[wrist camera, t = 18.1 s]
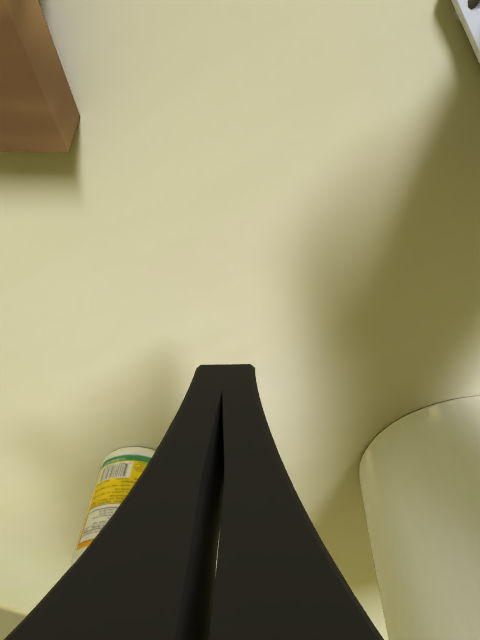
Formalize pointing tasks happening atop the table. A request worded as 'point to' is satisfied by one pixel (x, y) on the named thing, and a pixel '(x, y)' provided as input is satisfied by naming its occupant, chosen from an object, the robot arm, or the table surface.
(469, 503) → the utensil holder
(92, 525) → the supplement bottle
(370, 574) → the table surface
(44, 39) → the domino
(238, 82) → the table surface
